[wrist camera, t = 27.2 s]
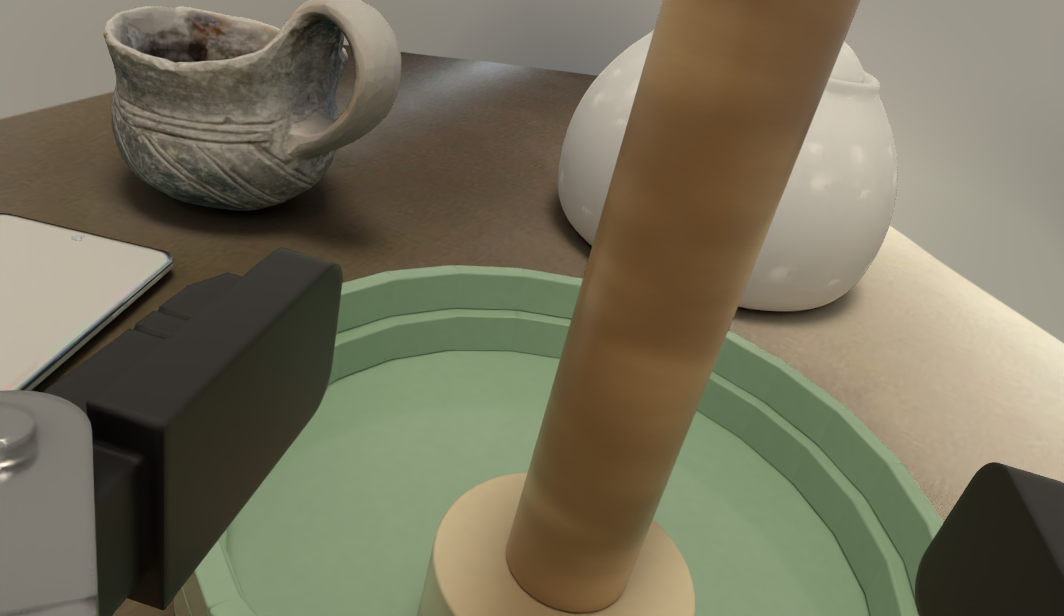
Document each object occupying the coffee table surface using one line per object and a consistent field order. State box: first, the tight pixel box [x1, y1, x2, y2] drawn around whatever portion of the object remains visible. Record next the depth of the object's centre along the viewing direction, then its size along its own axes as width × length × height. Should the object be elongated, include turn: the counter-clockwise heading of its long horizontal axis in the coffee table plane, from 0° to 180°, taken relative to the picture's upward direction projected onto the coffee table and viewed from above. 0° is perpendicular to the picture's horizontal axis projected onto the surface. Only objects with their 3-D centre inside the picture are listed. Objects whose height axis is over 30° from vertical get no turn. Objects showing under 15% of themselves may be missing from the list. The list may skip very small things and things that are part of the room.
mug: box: [103, 0, 401, 211], centre depth 34 cm, size 10×12×10 cm
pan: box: [173, 265, 944, 616], centre depth 21 cm, size 19×19×4 cm
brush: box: [417, 0, 860, 616], centre depth 15 cm, size 6×6×15 cm
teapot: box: [558, 30, 898, 311], centre depth 40 cm, size 19×18×14 cm
